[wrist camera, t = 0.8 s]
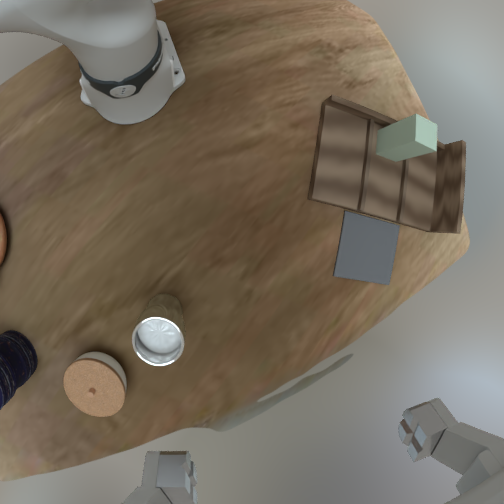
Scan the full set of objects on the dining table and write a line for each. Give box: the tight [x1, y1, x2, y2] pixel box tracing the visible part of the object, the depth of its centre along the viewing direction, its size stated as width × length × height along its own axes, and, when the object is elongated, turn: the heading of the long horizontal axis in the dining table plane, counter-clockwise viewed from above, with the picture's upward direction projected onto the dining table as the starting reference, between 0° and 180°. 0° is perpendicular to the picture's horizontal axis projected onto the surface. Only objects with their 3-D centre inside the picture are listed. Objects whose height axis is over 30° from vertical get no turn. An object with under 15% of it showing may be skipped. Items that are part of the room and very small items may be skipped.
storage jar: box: [0, 330, 37, 410], centre depth 38 cm, size 10×10×15 cm
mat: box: [333, 211, 399, 285], centre depth 58 cm, size 12×13×1 cm
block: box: [376, 114, 437, 162], centre depth 49 cm, size 5×5×12 cm
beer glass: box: [132, 294, 186, 366], centre depth 44 cm, size 7×7×15 cm
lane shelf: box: [308, 95, 466, 234], centre depth 52 cm, size 19×29×10 cm, turn 79°
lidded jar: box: [63, 352, 127, 417], centre depth 45 cm, size 11×11×9 cm
